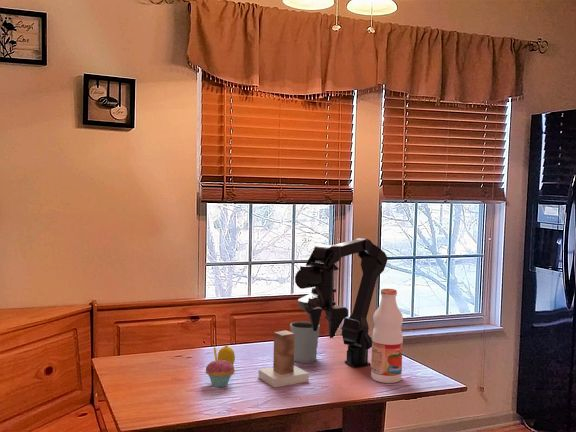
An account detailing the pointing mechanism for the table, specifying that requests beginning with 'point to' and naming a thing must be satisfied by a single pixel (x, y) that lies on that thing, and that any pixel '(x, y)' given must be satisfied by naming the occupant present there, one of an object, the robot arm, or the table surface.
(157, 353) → the table surface
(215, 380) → the cupcake
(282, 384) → the plate
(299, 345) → the grey cup
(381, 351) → the fruit juice
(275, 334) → the brown wooden block
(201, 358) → the table surface
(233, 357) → the lemon
